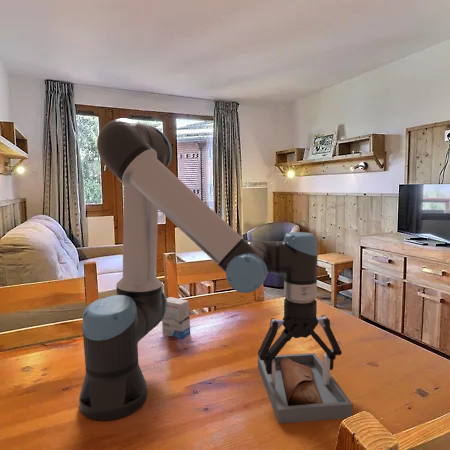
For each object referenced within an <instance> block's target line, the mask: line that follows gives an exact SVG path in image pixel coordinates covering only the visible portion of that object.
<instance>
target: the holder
mask: <svg viewBox="0 0 450 450" xmlns="http://www.w3.org/2000/svg"><path fill="white" fill-rule="evenodd" d="M283 357H287V358H289V359H290V360H292V361H294V362H296V363H299V364H302V365H304V366H307V367H310V368H311V369H312V374H313V377H314V380H315V383H316V386H317V389H318V392H319V394H320V397H321V399H322V402H323V403H321V404H308V405H295V406H288V404H287V400H286V394H285V389H284V384H283V379H282V374H281V370H280V360H281V359H282V358H283ZM274 361H275V388H274V385H273V383H272V381H271V378H270V374H267V372H266V361H265V360H260V358H259V355H258V356H257V369H258V371H259V374H260V376H261V380H262V382H263V385H264V388H265V390H266V394H267V395H268V399H269V402H270V404H271V406H272V409H273V412H274V415H275V418H276V420H277V422H278V423H277V424H291V423H304V422H305V423H306V422H314V421H316V422H317V421H329V420H339V419H340V420H341V419H342V420H343V419H348V418H347V417H350V416H352V417H353V408H354V407H353V406H354V405H353V403H352V401H351V400H350V398H349V397H348V395H347V394H346V393H345V391H344V390H343V389H342V388H341V386H340V385H339V384H338V382H337V380H336V379H335V378H334V377H333V375H332V374H331V373H330V382H329V385H326V384H325V382H324V381H323V379H322V369H323V361H322V360H321V359H320V357H319V356H318V355H317V353H315V352H309V353H305V352H304V353H292V354H290V353H289V354H277V355H276V357H275V358H274Z"/></svg>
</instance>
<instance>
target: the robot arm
mask: <svg viewBox="0 0 450 450" xmlns="http://www.w3.org/2000/svg"><path fill="white" fill-rule="evenodd" d="M96 149H97V153H98V155H99V157H100V159H101V161H102V162H103V164H104V165H105V166H106V168H108V169H109V171H111V173H112V174H114V175H115V176H116V177H117V180H118V181H119V182H120V183H121V184H122V185H123V215H122V217H123V224H122V225H123V228H122V229H123V231H122V240H123V241H122V245H123V246H122V278H121V279H119V281H117V283H116V284H115V285H116V286H115V287H116V291H115V293H116V294H115V295H107V296H105V297H103V298H101V297H100V298H98V299H96V300H94V301H92V302H91V303H90V304H88V305H87V306H86V307H85V308H84V311H83V313H82V325H81V330H82V337H83V349H84V364H85V375H84V379H83V382H82V386H81V390H80V393H79V396H78V397H79V401H78V402H79V410H80V413H81V414H82V415H83V416H84V417H85V418H87V419H90V420H93V421H100V422H101V421H103V422H104V421H106V422H107V421H113V420H118V419H119V420H120V419H122V418H125V417H126V416H130V415H132V414H133V413H135V412H136V411H138V410H139V409H141V408H142V407H143V405H144V404H145V403H146V402H147V399H148V385H147V382H146V379H145V376H144V375H143V372H142V369H141V367H140V364H139V351H138V350H139V346H138V344H139V342H140V341H141V340H142V339H143V338H145V336H147V334H149V333H150V332H151V331H152V330H153V329H155V328H156V327H157V326H158V325H159V324H160V323H161V322H162V318H163V317H164V315H165V313H166V310H167V299H166V298H167V296H166V293H164V292H163V289H162V287H163V286H162V283H163V282H161V281H160V280H159V278H157V261H158V260H157V259H158V225H159V224H158V222H159V221H158V218H159V215H158V214H159V211H160V212H161V213H162V214H163V215H164V216H165V217H166V218H167V219H169V221H171V223H173V224H174V225H175V226H176V227H177V228H178V229H179V230H180V231H181V232H182V233H183V234H185V236H186V237H188V238H189V240H191V242H193V243H194V244H195V245H196V246H197V247H198V248H199V249H201V250H202V251H203V252H204V253H205V254H206V255H207V256H208V258H210V259H211V260H212V261H213V262H214V263H215V264H216V265H217V266H218V267H220V269H222V270H223V272H225V276H226V281H227V283H228V285H229V286H230V287H231V288H232V289H233V290H234V291H236V292H237V293H238V292H239V293H241V294H242V293H244V294H249V293H253V292H255V291H256V290H259V288H260V287H261V286H262V285H263V284H264V283H265V281H266V279H267V277H268V274H284V276H283V280H284V281H283V282H284V283H283V284H284V285H283V286H284V287H283V295H284V297H285V298H284V299H283V317H282V319H276V318H274V317H272V318H270V322H269V328H268V330H267V333H266V334H265V337H264V339H263V341H262V343H261V346H260V348H259V349H258V351H257V355H258V356H259V358H260V360H265V361H266V372H267V374H270V378H271V381H272V383H273V385H274V388H275V361H274V358H275V357H276V355H279V353H280V352H281V351H282V349H283V348H284V347H285V345H286V344H287V343H288V342H290V341H291V340H292V338H294V339H300V338H303V339H304V338H305V339H307V338H308V337H309V336H311V337H312V338H313V339H314V341H315V342H316V343H317V344H318V345H319V346H320V348H321V349H322V350H323V351H324V352H325V353H322V363H323V369H322V379H323V381H324V382H325V384H326V385H329V382H330V374H331V371H333V369H334V361H335V360H336V359H337V358H336V357H337V356H341V355H342V353H343V351H342V349H341V347H340V346H339V343H338V342H337V338H336V337H335V334H334V333H333V331H332V328H331V319H329V318H328V317H327V316H326V315H325V314H323V315H321V317H317V312H318V311H317V305H318V302H317V300H316V299H317V297H318V296H317V294H318V293H317V292H318V288H317V287H318V258H319V257H318V256H319V255H318V254H319V253H318V238H317V236H316V235H315V234H313V233H311V232H303V231H297V232H294V231H293V232H286V234H285V235H284V237H283V238H284V239H283V240H280V241H273V240H272V241H271V240H251V239H247V240H245V239H244V238H243V237H242V236H241V235H240V234H239V233H238V232H237V231H235V230H234V229H233V227H232V226H230V225H229V224H228V223H227V222H226V221H225V220H224V219H223V218H222V217H220V216H219V214H217V212H215V211H214V210H213V209H212V208H211V207H209V205H207V203H205V202H204V201H203V200H202V198H200V197H199V195H197V194H196V193H195V192H193V190H191V188H189V187H188V186H187V185H186V184H185V183H184V182H183V181H182V180H181V179H180V178H179V177H177V176H176V175H175V174H174V173H173V171H171V170H170V169H169V168H168V166H169V165H170V163H171V160H172V157H173V149H172V144H171V142H170V139H169V138H168V137H167V136H166V135H165V134H164V133H163V132H162V131H160V130H159V129H158V128H156V127H155V126H152V125H149V124H145V123H141V122H138V121H136V120H133V119H130V118H115V119H113V120H110V121H108V122H107V123H106V124H105V125H104V126H102V128H101V130H100V132H99V133H98V135H97V141H96ZM318 325H320V326H321V327H322V329H323V331H324V333H325V336H326V338H327V340H328V341H329V344H330V346H331V349H330V348H329V346H328V345H327V344H326V343H325V342H324V340H323V339H322V338H321V337H320V336H319V335H318V333H316V331H315V329H316V327H318ZM282 326H283V327H284V328H283V330H282V331H281V333H280V335H279V336H278V338H276V340H275V337H276V335H277V334H278V333H277V332H278V330H280V329H281V327H282ZM274 340H275V341H274ZM273 342H274V343H273Z"/></svg>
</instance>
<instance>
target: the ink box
mask: <svg viewBox="0 0 450 450" xmlns="http://www.w3.org/2000/svg"><path fill="white" fill-rule="evenodd" d="M166 299H167V310H166V313H165V315H164V317H163V318H162V320H161V325H162V328H161V329H162V335H166V336H169V337H173V338H176V339H180V340H183V339H184V338H186V337H187V336H189V335H191V321H190V320H191V318H190V302H189V300H187V299H182V298H177V297H173V296H170V297H166Z"/></svg>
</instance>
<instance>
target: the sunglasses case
mask: <svg viewBox="0 0 450 450" xmlns="http://www.w3.org/2000/svg"><path fill="white" fill-rule="evenodd" d="M280 370H281V374H282V379H283V384H284V389H285V394H286V400H287V404H288V406H295V405H308V404H321V403H323V402H322V399H321V397H320V394H319V392H318V389H317V386H316V383H315V380H314V377H313V374H312V369H311V368H310V367H307V366H304V365H302V364H299V363H296V362H294V361H292V360H290V359H289V358H287V357H283V358H282V359H281V360H280Z"/></svg>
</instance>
